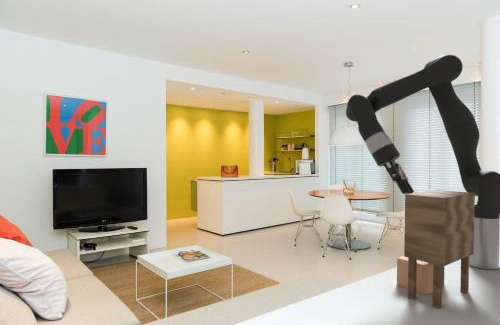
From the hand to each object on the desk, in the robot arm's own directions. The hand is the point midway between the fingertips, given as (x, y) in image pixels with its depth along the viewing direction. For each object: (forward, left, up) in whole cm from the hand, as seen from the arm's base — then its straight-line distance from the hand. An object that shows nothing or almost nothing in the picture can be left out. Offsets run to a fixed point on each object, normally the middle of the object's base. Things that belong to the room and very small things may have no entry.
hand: (408, 193), depth 103 cm
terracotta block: (+4, +5, -27) cm, 28 cm away
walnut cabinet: (+4, +11, -27) cm, 29 cm away
